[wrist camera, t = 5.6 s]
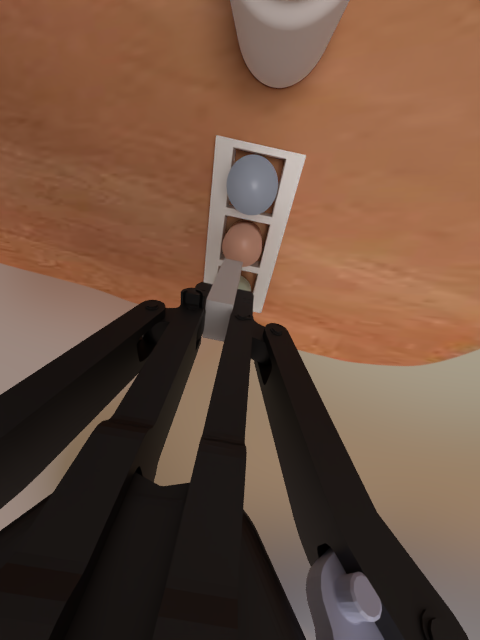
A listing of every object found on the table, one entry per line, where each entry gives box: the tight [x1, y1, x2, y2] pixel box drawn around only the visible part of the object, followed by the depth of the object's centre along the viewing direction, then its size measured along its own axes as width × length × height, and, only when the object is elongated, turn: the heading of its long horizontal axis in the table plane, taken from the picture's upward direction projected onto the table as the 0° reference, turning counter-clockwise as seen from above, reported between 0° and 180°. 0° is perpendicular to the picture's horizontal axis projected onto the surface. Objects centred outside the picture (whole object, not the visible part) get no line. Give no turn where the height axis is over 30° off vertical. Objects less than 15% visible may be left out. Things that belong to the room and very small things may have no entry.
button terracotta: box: [222, 220, 262, 267], centre depth 26 cm, size 5×5×4 cm
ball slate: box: [227, 155, 278, 215], centre depth 21 cm, size 5×5×4 cm
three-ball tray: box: [204, 135, 306, 313], centre depth 27 cm, size 9×19×2 cm, turn 170°
